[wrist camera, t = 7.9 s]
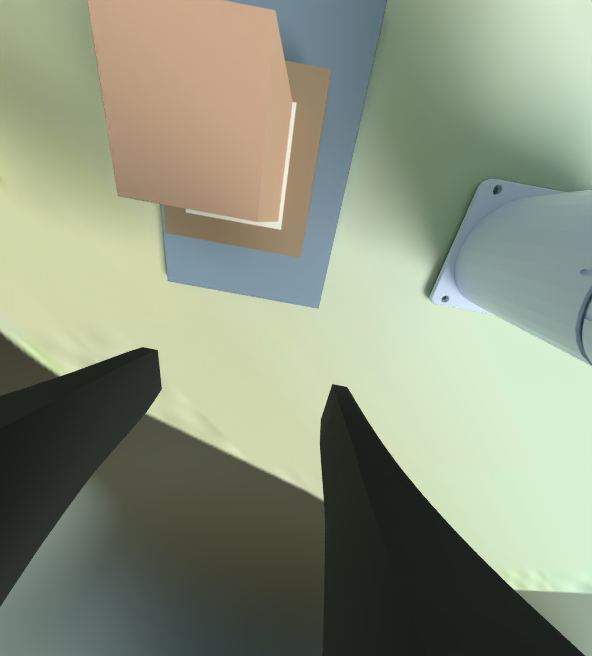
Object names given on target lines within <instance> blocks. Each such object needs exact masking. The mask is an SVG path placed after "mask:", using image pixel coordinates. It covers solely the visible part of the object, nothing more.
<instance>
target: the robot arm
mask: <svg viewBox="0 0 592 656" xmlns="http://www.w3.org/2000/svg"><path fill="white" fill-rule="evenodd" d="M495 186H497V187H498V191H497V193H496V194H493V189H494V187H495ZM444 296H446V299H445V300H443V301H442V298H443V297H444ZM429 298H430V301H431V302H432V303H434V304H438V305H444V306H449V307H455V308H460V309H466V310H471V311H477V312H482V313H488V314H493V315H495V316H497V317H499V318H501V319H503V320H505V321H507V322H509V323H511V324H513V325H514V326H516V327H518V328H520V329H522V330H524V331H526V332H528V333H530V334H532V335H533V336H535V337H537V338H539V339H541V340H543V341H545V342H547V343H549V344H551V345H552V346H554V347H556V348H558V349H560V350H562V351H564V352H566V353H568V354H570V355H571V356H573V357H575V358H577V359H579V360H581V361H583V362H585V363H587V364H589V365H590V366H592V190H585V191H576V192H563V191H558V190H552V189H547V188H541V187H536V186H531V185H525V184H520V183H514V182H509V181H503V180H498V179H487V180H485V181H483V182H482V183H481V184H480V185H479V186H478V188H477V190H476V193H475V195H474V197H473V199H472V202H471V204H470V206H469V208H468V211H467V213H466V215H465V217H464V220H463V222H462V224H461V226H460V229H459V231H458V233H457V235H456V238H455V240H454V242H453V244H452V247H451V249H450V251H449V253H448V256H447V258H446V260H445V262H444V265H443V267H442V269H441V271H440V274H439V276H438V278H437V280H436V283H435V285H434V287H433V290H432V292H431V294H430V297H429ZM161 389H162V387H161V377H160V368H159V358H158V350H154V349H149V348H144V347H142V348H139V349H135V350H132V351H129V352H126V353H124V354H121V355H118V356H115V357H113V358H110V359H107V360H105V361H102V362H99V363H96V364H94V365H91V366H88V367H85V368H83V369H80V370H77V371H75V372H72V373H69V374H66V375H63V376H60V377H57V378H55V379H51V380H48V381H46V382H42V383H39V384H37V385H34V386H31V387H27V388H24V389H21V390H18V391H15V392H11V393H8V394H5V395H2V396H0V606H1V605H2V603H3V601H4V600H5V598H6V597H7V595H8V594H9V592H10V591H11V589H12V588H13V586H14V585H15V583H16V582H17V580H18V579H19V577H20V576H21V574H22V573H23V571H24V570H25V568H26V567H27V565H28V564H29V562H30V561H31V559H32V558H33V556H34V555H35V553H36V552H37V550H38V549H39V547H40V546H41V544H42V543H43V542H44V540H45V539H46V537H47V536H48V535H49V533H50V532H51V530H52V529H53V528H54V526H55V525H56V523H57V522H58V520H59V519H60V518H61V516H62V515H63V513H64V512H65V511H66V509H67V508H68V506H69V505H70V504H71V502H72V501H73V500H74V498H75V497H76V495H77V494H78V493H79V492H80V490H81V489H82V487H83V486H84V485H85V483H86V482H87V481H88V479H89V478H90V477H91V476H92V475H93V473H94V472H95V471H96V470H97V468H98V467H99V466H100V465H101V464H102V462H103V461H104V460H105V459H106V458H107V457H108V456H109V454H110V453H111V452H112V451H113V450H114V449H115V448H116V446H117V445H118V444H119V443H120V442H121V441H122V439H123V438H124V437H125V436H126V435H127V434H128V433H129V431H130V430H131V429H132V428H133V427H134V426H135V425H136V424H137V422H138V421H139V420H140V419H141V418H142V417H143V415H144V414H145V413H146V412H147V410H148V409H149V408H150V406H151V405H152V403H153V402H154V400H155V399H156V397H157V396H158V394H159V393H160V391H161ZM320 453H321V467H322V481H323V494H324V506H325V582H324V583H325V584H324V624H323V656H585V655H584V654H583V653H581V652H580V651H579V650H578V649H577V648H576V647H575V646H574V645H573V644H572V643H571V642H570V641H568V640H567V639H566V638H565V637H564V636H563V635H562V634H561V633H560V632H559V631H558V630H557V629H555V628H554V627H553V626H552V625H551V624H550V623H549V622H548V621H547V620H546V619H545V618H544V617H543V616H541V615H540V614H539V613H538V612H537V611H536V610H535V609H534V608H533V607H532V606H531V605H529V604H528V603H527V602H526V601H525V600H524V599H523V598H522V597H521V596H520V595H519V594H518V593H517V592H516V591H515V590H513V589H512V588H511V587H510V586H509V585H508V584H507V583H506V582H505V581H504V580H503V579H502V578H501V577H500V576H499V575H498V574H497V573H496V572H495V571H494V570H493V569H492V568H491V567H490V566H489V565H488V564H487V563H486V562H485V561H484V560H483V559H482V558H481V557H480V556H479V555H478V554H477V553H476V552H475V551H474V550H473V549H472V548H471V547H470V546H469V545H468V544H467V543H466V542H465V541H464V540H463V539H462V537H461V536H460V535H459V534H458V533H457V532H456V531H455V530H454V529H453V528H452V527H451V526H450V525H449V524H448V522H447V521H446V520H445V519H444V518H443V517H442V516H441V515H440V514H439V513H438V512H437V510H436V509H435V508H434V507H433V506H432V505H431V504H430V503H429V501H428V500H427V499H426V498H425V497H424V496H423V495H422V493H421V492H420V491H419V490H418V489H417V487H416V486H415V485H414V484H413V483H412V481H411V480H410V479H409V478H408V476H407V475H406V474H405V473H404V472H403V470H402V469H401V468H400V466H399V465H398V464H397V463H396V461H395V460H394V459H393V457H392V456H391V454H390V453H389V452H388V450H387V449H386V448H385V446H384V445H383V443H382V442H381V440H380V439H379V437H378V436H377V434H376V433H375V431H374V430H373V428H372V427H371V425H370V424H369V422H368V421H367V419H366V417H365V416H364V414H363V413H362V411H361V409H360V408H359V406H358V404H357V403H356V401H355V399H354V398H353V396H352V394H351V393H350V391H349V389H348V388H347V387H344V386H339V385H334V384H332V387H331V390H330V393H329V396H328V399H327V403H326V406H325V409H324V412H323V415H322V418H321V429H320Z"/></svg>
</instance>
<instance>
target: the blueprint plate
mask: <svg viewBox="0 0 592 656" xmlns="http://www.w3.org/2000/svg"><path fill="white" fill-rule="evenodd" d="M224 1H229V2H235V3H240V4H245V5H250V6H256V7H261V8H266V9H271V10H275V11H276V16H277V22H278V27H279V32H280V38H281V43H282V48H283V54H284V59H285V64H286V69H287V75H288V80H289V85H290V91H291V96H292V101H293V103H292V112H291V120H290V128H289V137H288V145H287V153H286V162H285V170H284V178H283V186H282V195H281V203H280V211H279V220H278V222H254V221H249V220H244V219H238V218H233V217H228V216H222V215H217V214H212V213H206V212H201V211H195V210H190V209H185V208H179V207H174V206H169V205H163V204H161V208H162V220H163V231H164V243H165V254H166V266H167V277H168V281H170V282H176V283H181V284H187V285H192V286H198V287H203V288H209V289H214V290H220V291H225V292H231V293H236V294H241V295H247V296H252V297H258V298H263V299H269V300H274V301H280V302H285V303H291V304H296V305H302V306H307V307H313V308H319V304H320V299H321V295H322V290H323V286H324V281H325V277H326V273H327V268H328V264H329V259H330V255H331V250H332V246H333V241H334V237H335V232H336V228H337V223H338V219H339V214H340V210H341V205H342V201H343V196H344V192H345V187H346V183H347V178H348V174H349V169H350V165H351V160H352V156H353V151H354V147H355V142H356V138H357V133H358V129H359V124H360V120H361V115H362V111H363V106H364V102H365V97H366V93H367V88H368V84H369V79H370V75H371V70H372V66H373V62H374V57H375V53H376V48H377V44H378V39H379V35H380V30H381V26H382V21H383V17H384V12H385V8H386V3H387V0H224Z"/></svg>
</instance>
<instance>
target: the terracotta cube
mask: <svg viewBox="0 0 592 656" xmlns="http://www.w3.org/2000/svg"><path fill="white" fill-rule="evenodd" d="M88 7H89V13H90V19H91V26H92V32H93V39H94V45H95V51H96V58H97V64H98V71H99V77H100V83H101V90H102V96H103V103H104V109H105V115H106V122H107V128H108V135H109V141H110V147H111V154H112V160H113V167H114V173H115V179H116V186H117V192H118V196H120V197H126V198H131V199H137V200H142V201H147V202H153V203H158V204H163V205H169V206H174V207H179V208H185V209H190V210H195V211H201V212H206V213H212V214H217V215H222V216H228V217H233V218H238V219H244V220H249V221H254V222H278V220H279V211H280V203H281V195H282V186H283V178H284V170H285V162H286V153H287V145H288V137H289V128H290V120H291V112H292V103H293V101H292V96H291V91H290V85H289V80H288V75H287V69H286V64H285V59H284V54H283V48H282V43H281V38H280V32H279V27H278V22H277V16H276V11H275V10H271V9H266V8H261V7H256V6H250V5H245V4H240V3H235V2H229V1H224V0H88Z"/></svg>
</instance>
